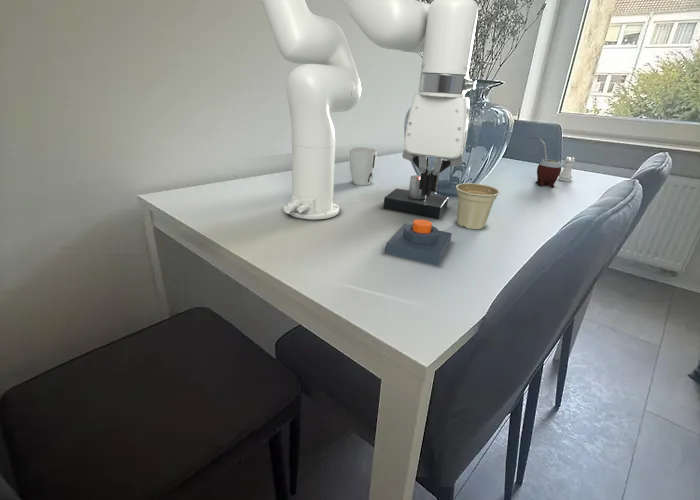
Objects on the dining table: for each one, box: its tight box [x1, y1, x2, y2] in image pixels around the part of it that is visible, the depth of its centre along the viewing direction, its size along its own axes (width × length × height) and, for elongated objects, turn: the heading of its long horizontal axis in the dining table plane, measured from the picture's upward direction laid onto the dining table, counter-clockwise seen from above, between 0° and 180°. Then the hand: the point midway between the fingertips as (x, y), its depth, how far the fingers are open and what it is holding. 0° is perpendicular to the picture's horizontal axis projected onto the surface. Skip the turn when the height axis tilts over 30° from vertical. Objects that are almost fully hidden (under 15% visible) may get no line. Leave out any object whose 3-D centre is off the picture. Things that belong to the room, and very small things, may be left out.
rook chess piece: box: [557, 156, 576, 183], centre depth 136 cm, size 4×4×8 cm
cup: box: [349, 146, 378, 186], centre depth 117 cm, size 8×8×10 cm
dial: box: [408, 174, 426, 200], centre depth 97 cm, size 4×4×5 cm
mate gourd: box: [535, 137, 562, 188], centre depth 127 cm, size 8×8×15 cm
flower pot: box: [455, 182, 501, 230], centre depth 88 cm, size 9×9×9 cm
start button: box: [412, 218, 433, 233], centre depth 74 cm, size 4×4×2 cm
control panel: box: [383, 187, 449, 220], centre depth 98 cm, size 14×10×3 cm
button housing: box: [384, 222, 453, 267], centre depth 75 cm, size 12×10×4 cm
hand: (427, 194), depth 72 cm, fingers closed
